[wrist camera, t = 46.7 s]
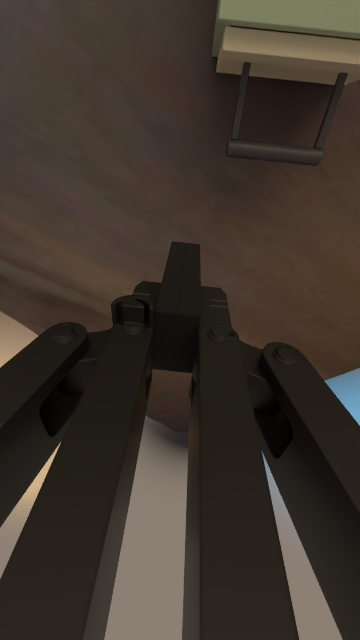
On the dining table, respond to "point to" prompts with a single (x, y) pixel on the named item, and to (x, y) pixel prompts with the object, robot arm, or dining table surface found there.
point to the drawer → (289, 64)
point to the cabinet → (289, 17)
